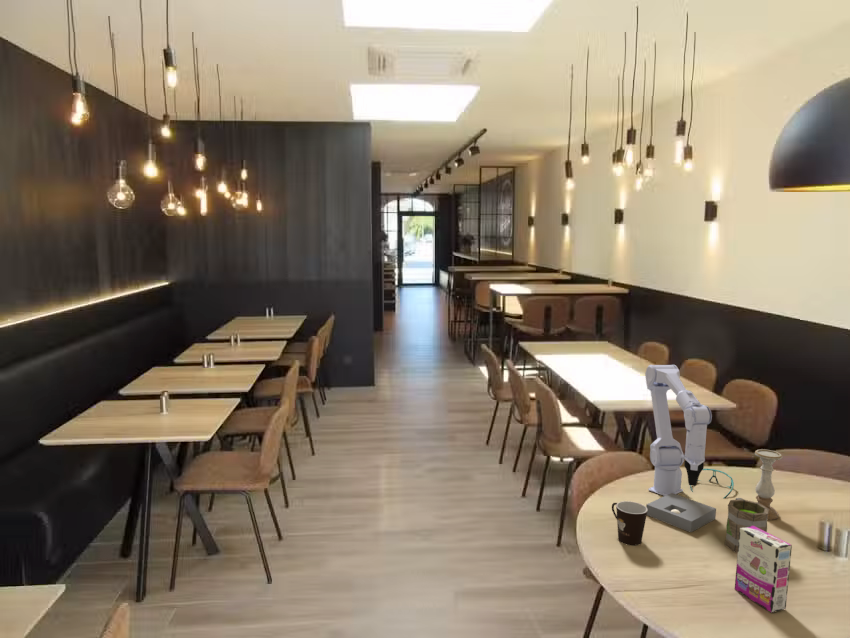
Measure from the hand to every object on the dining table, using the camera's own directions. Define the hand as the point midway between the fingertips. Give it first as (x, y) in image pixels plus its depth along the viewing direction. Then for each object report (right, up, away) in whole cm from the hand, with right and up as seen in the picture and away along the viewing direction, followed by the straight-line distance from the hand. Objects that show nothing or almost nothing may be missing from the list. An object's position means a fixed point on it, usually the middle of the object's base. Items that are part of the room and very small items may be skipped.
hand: (692, 484), depth 202 cm
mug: (+7, -12, -18) cm, 23 cm away
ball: (-7, -8, -5) cm, 12 cm away
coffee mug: (-26, -11, -16) cm, 33 cm away
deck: (-5, -10, -2) cm, 11 cm away
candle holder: (+23, -10, +1) cm, 25 cm away
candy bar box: (-3, -16, -47) cm, 50 cm away
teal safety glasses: (+16, -7, +22) cm, 28 cm away
